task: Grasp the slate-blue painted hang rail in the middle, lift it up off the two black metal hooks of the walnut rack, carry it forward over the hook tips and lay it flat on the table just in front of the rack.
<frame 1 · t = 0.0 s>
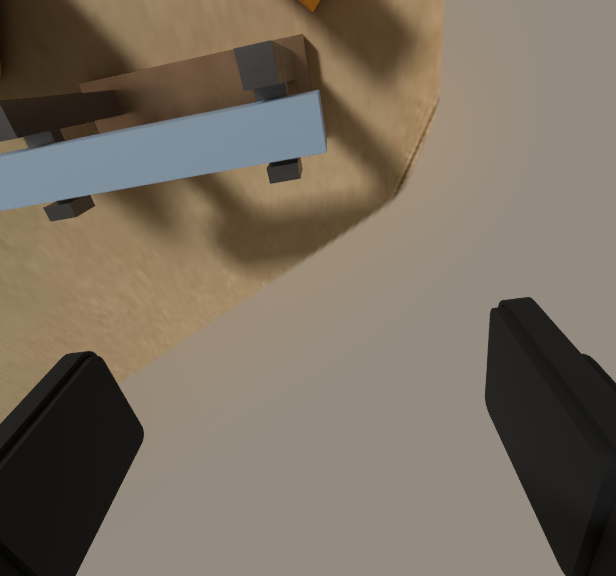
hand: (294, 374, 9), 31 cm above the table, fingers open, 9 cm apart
hang rail: (160, 147, 25), point 12 cm above the table, touching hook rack
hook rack: (198, 85, 34), on the table
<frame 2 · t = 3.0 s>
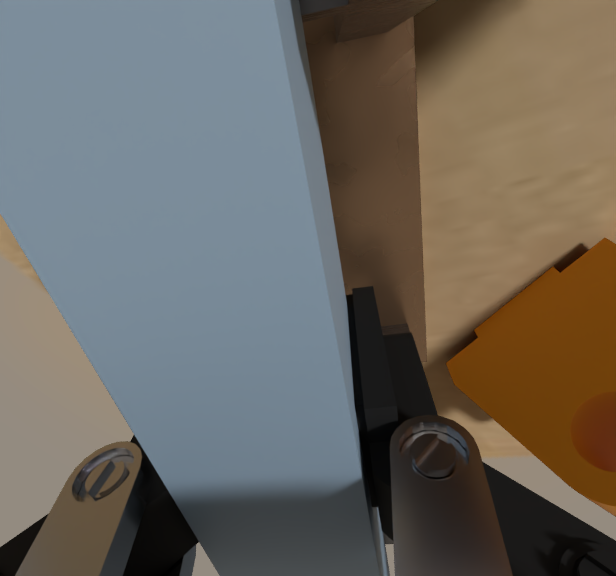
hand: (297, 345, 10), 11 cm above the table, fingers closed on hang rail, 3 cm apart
hang rail: (296, 360, 10), point 12 cm above the table, touching gripper, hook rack
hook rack: (375, 199, 20), on the table
bracket: (548, 328, 23), on the table
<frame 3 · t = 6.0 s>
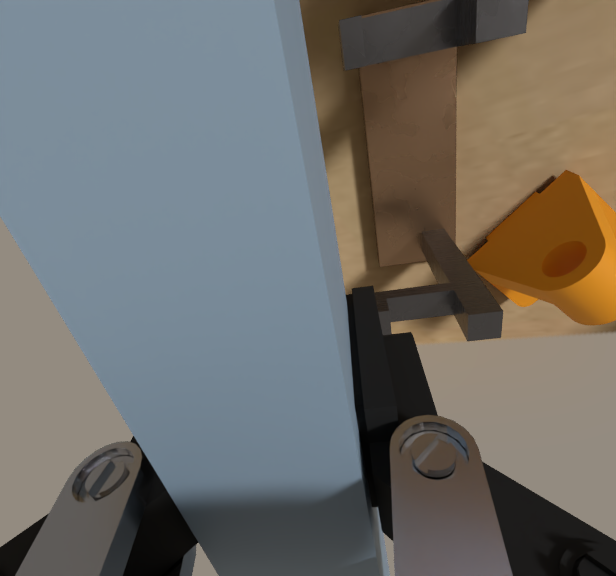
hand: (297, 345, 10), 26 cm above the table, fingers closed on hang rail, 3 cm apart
hang rail: (295, 360, 10), point 27 cm above the table, touching gripper
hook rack: (426, 147, 32), on the table
bracket: (533, 236, 36), on the table
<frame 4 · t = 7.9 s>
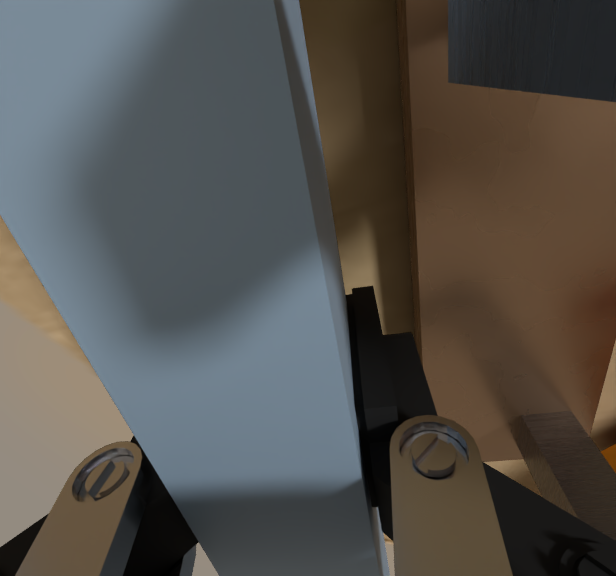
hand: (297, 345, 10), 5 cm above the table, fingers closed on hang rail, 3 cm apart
hang rail: (295, 359, 10), point 6 cm above the table, touching gripper
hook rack: (549, 249, 14), on the table
when the fingers open (1 cm above the table, at t = 9.2 s): hang rail drops 2 cm, on the table.
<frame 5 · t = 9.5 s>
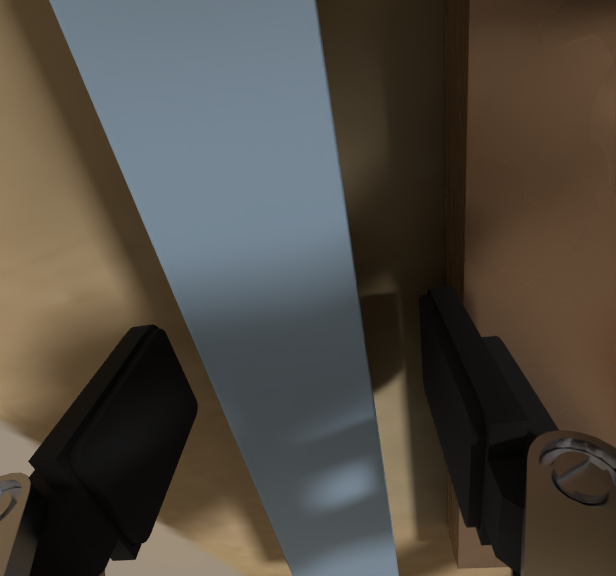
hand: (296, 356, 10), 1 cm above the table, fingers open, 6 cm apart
hang rail: (310, 317, 11), on the table
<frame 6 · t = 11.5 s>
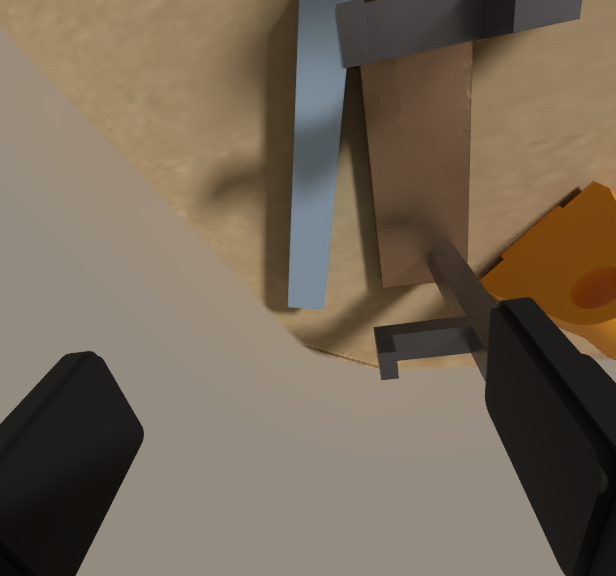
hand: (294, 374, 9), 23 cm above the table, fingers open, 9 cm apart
hang rail: (316, 162, 30), on the table
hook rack: (435, 155, 29), on the table
bracket: (553, 254, 32), on the table
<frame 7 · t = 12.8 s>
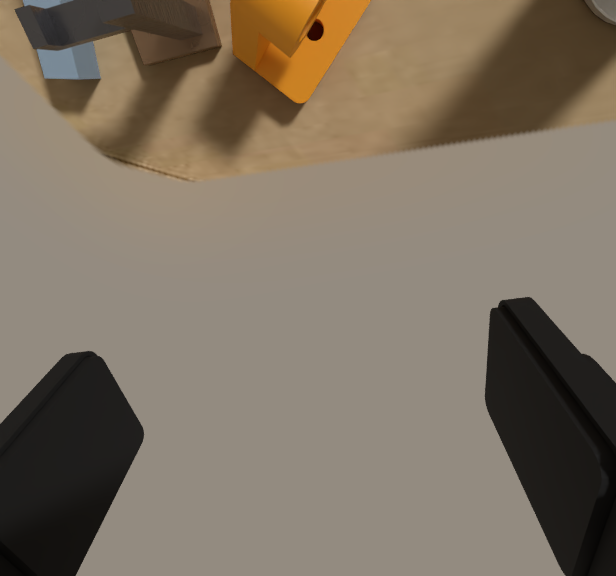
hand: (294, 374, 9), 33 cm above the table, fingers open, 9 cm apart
bracket: (305, 24, 33), on the table
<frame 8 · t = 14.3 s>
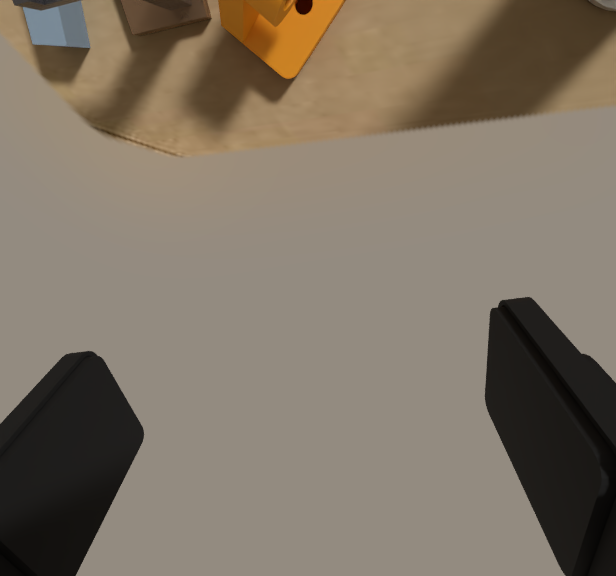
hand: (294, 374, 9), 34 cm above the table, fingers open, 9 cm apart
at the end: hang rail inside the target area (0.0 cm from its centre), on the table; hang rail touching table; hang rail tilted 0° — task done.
